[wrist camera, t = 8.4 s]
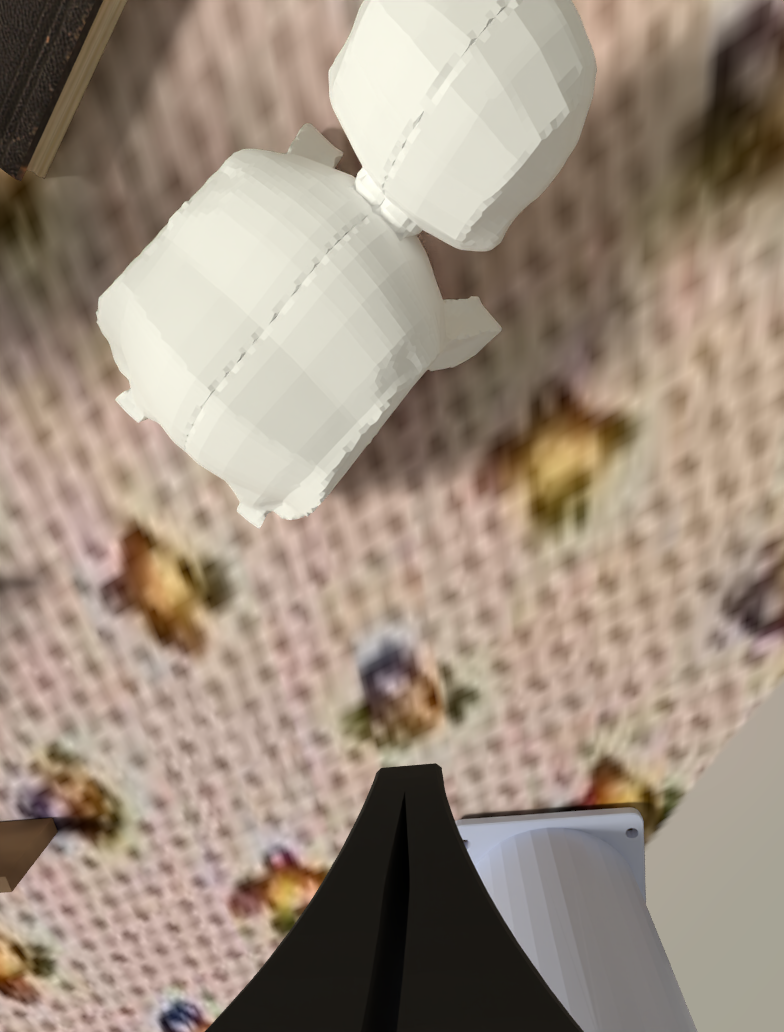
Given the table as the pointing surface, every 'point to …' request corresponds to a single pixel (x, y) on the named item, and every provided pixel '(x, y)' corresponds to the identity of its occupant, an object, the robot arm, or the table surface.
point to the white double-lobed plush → (347, 246)
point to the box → (22, 848)
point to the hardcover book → (46, 73)
